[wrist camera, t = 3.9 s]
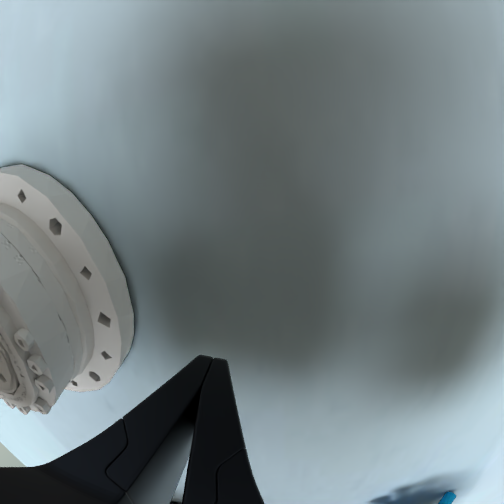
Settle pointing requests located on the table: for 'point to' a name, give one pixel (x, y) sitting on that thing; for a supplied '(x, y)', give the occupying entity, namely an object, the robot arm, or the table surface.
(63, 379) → the mechanical component
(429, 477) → the table surface
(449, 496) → the gear
